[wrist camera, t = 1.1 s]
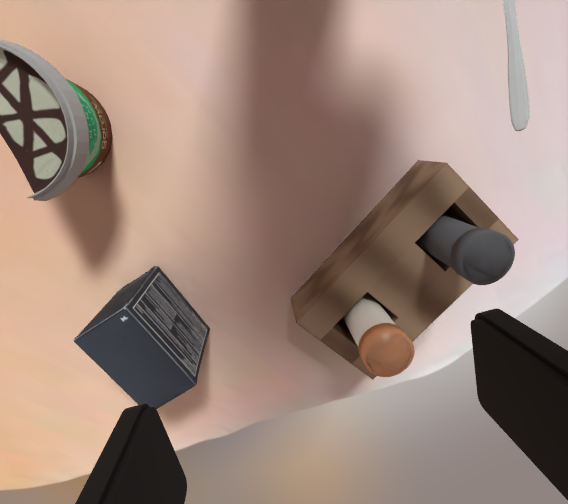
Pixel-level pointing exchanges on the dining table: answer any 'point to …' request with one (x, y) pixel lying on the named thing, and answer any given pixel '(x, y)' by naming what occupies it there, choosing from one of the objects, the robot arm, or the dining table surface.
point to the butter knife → (516, 71)
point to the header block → (393, 261)
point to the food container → (49, 122)
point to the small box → (147, 340)
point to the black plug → (469, 249)
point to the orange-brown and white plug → (378, 338)
